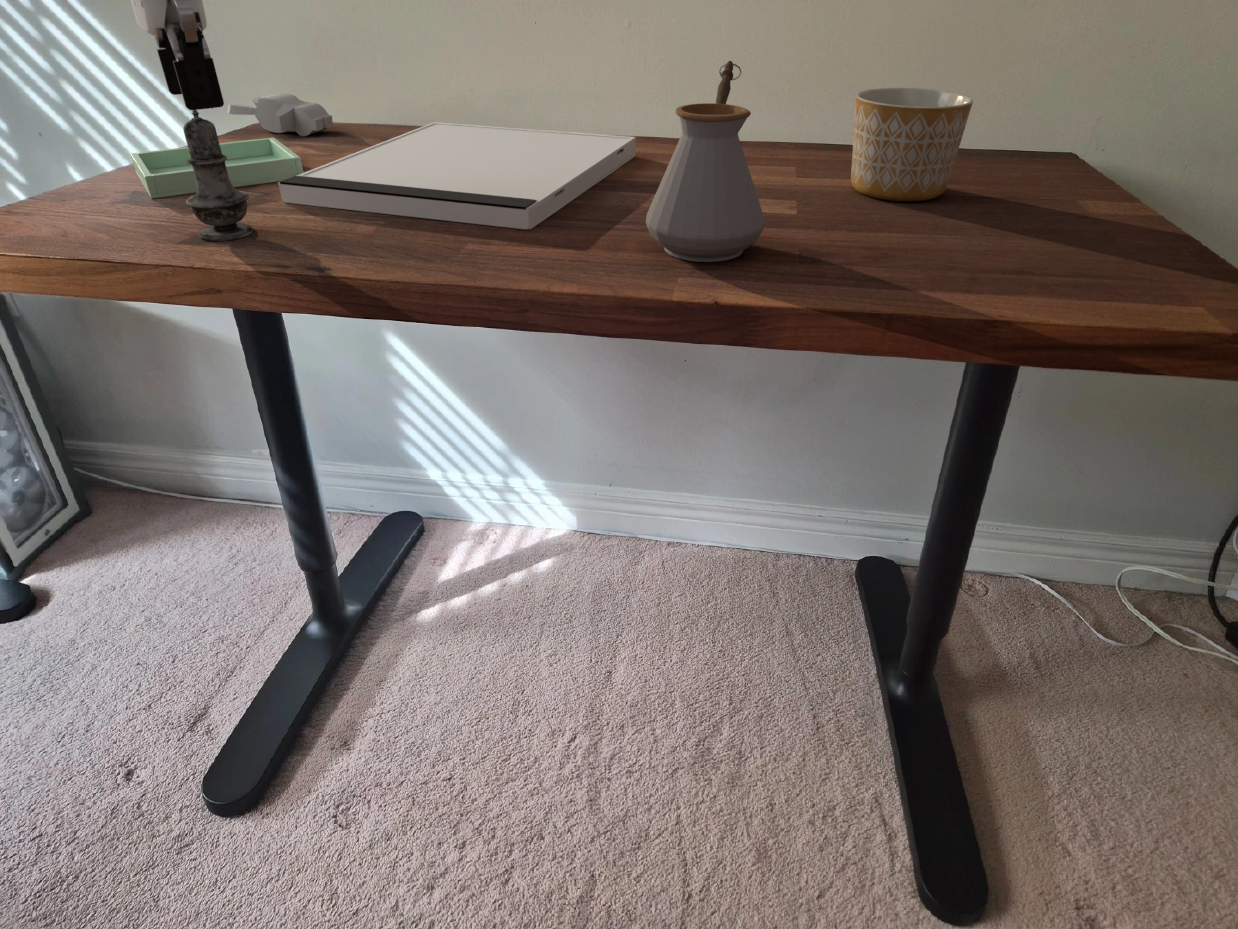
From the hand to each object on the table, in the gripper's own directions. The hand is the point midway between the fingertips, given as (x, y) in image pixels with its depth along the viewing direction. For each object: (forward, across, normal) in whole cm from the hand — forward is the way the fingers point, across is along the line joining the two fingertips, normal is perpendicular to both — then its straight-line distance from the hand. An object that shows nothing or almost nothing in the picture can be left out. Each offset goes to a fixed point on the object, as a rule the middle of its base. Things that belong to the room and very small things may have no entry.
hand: (196, 100), depth 79 cm
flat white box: (+13, -7, +30) cm, 34 cm away
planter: (+14, +26, +70) cm, 76 cm away
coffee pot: (+14, +27, +41) cm, 51 cm away
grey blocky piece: (+13, -48, +17) cm, 53 cm away
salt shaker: (+13, 0, -1) cm, 13 cm away
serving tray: (+13, -25, +3) cm, 28 cm away
